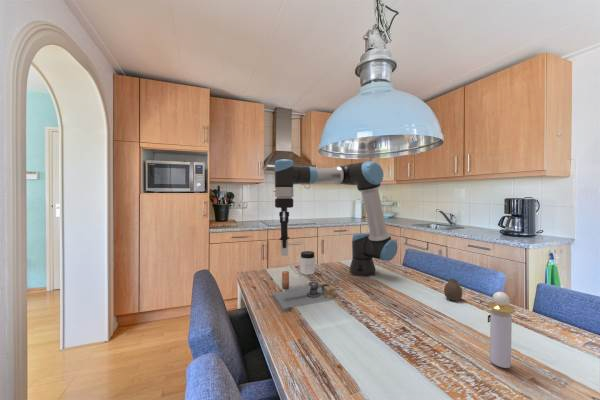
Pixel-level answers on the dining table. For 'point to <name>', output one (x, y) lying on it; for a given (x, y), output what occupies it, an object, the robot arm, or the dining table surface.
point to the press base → (299, 298)
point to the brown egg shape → (453, 290)
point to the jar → (307, 263)
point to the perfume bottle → (500, 330)
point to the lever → (301, 287)
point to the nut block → (329, 292)
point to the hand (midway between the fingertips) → (284, 255)
